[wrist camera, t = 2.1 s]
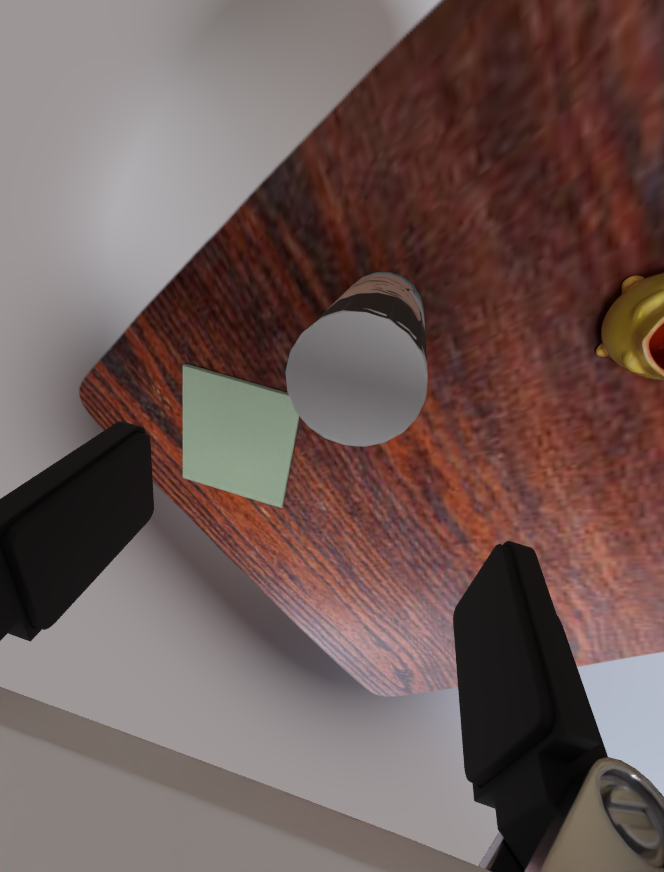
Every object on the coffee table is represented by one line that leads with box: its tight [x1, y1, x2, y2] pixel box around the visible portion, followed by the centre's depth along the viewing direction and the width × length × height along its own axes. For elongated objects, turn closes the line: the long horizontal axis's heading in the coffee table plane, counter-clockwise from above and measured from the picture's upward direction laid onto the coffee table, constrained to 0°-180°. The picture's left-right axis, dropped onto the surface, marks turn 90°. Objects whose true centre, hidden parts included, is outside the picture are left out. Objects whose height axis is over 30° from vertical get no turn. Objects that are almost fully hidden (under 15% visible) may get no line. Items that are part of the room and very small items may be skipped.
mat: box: [183, 364, 300, 508], centre depth 39 cm, size 12×14×1 cm
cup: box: [286, 272, 428, 446], centre depth 24 cm, size 7×7×15 cm
